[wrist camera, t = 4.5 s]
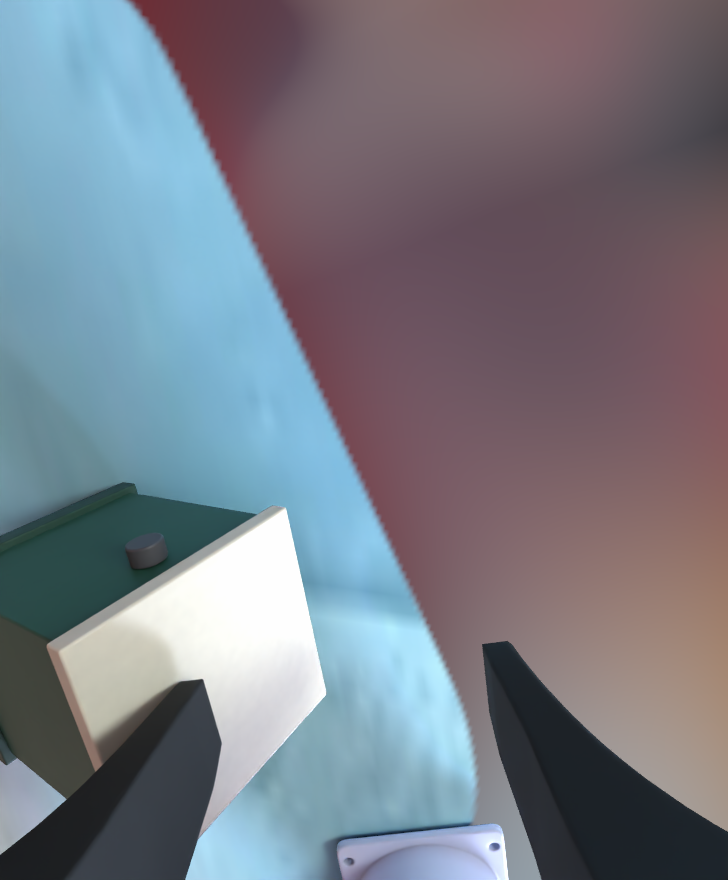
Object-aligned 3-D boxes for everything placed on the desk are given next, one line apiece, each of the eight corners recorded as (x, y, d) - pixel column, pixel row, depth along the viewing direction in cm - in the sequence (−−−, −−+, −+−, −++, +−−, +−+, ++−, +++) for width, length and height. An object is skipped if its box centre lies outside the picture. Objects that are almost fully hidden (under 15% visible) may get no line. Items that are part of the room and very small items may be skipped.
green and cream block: (284, 495, 16) (52, 637, 11) (329, 702, 18) (155, 903, 13) (120, 473, 21) (-94, 563, 16) (172, 638, 23) (-1, 765, 18)
